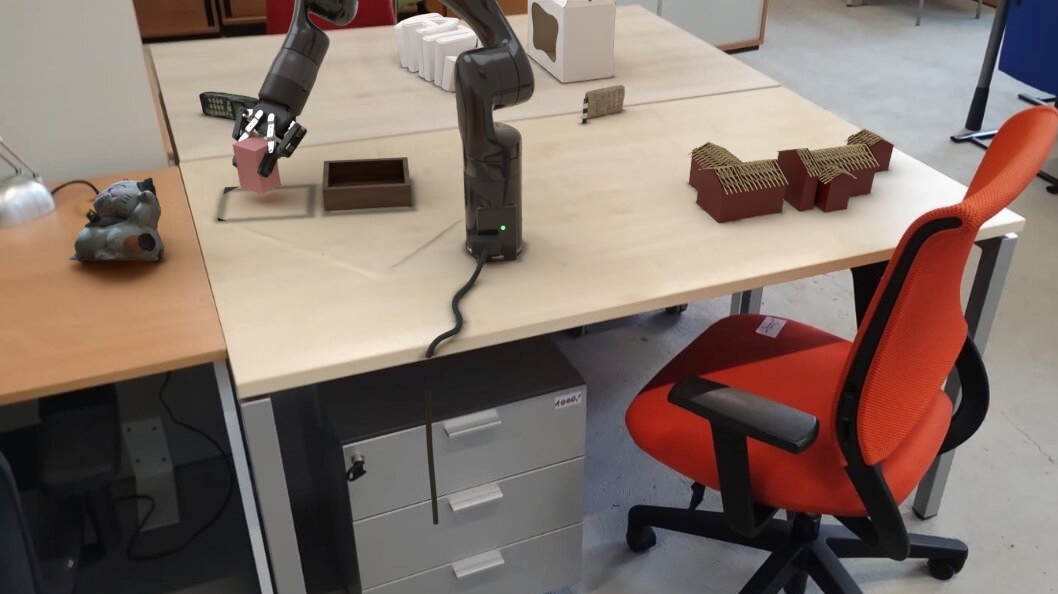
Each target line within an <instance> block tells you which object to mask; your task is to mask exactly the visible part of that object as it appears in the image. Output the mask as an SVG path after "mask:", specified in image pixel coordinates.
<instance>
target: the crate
mask: <svg viewBox="0 0 1058 594" xmlns="http://www.w3.org/2000/svg"><path fill="white" fill-rule="evenodd" d="M408 159H409V158H408V156H402V157H378V158H359V159H337V160H335V159H333V160H323V167H322V189H321V190H322V197H323V205H324V211H325V212H333V211H349V210H350V211H353V210H368V209H370V210H371V209H385V208H402V207H413V199H412V197H413V196H412V185H411V176H410V169H409V168H410V167H409V160H408Z"/></svg>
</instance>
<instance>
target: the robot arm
mask: <svg viewBox="0 0 1058 594" xmlns="http://www.w3.org/2000/svg"><path fill="white" fill-rule="evenodd" d="M438 2H440V3H441V4H443V5H444V6H445V7H446V8H448V9H449V10H450V11H451V12H452V13H454V14H455V15H456V16H458V18H460V19H461V20H462V21H464V22H465V23H466V24H467V26H469V28H470V29H471V30H473V31H474V32H475V34H476V35H477V37H478V38H479V40H480V42H481V43H482V45H483V47H480V48H475V49H470V50H466V51H463V52H461V53H460V54H459V55H458V57H457V59H456V62H455V66H454V86H455V92H454V93H455V103H456V104H455V105H456V115H457V125H458V132H459V135H460V140H461V146H462V147H461V148H462V149H461V150H462V168H463V169H462V174H463V196H464V222H465V223H464V224H465V249H466V251H467V252H468V254H470V255H471V256H472V257H474V258H477V261H478V262H477V263H478V264H477V266H476V268H475V270H474V272H473V274H472V275H471V277H470V278H469V280H468V281H467V282H466V284H465V285H464V286H463V287H461V288H460V289H459V290H458V291H457V292H456V293H455V295H454V296H453V299H452V300H451V308H452V312H453V314H454V317H455V319H456V324H455V326H454V327H453V328H452V329H450V330H447V331H445V332H442V333H441V334H439V335H438V336H436V337H435V338H434V339H433V340H432V341H431V342H430V344H429V346H428V347H427V349H426V352H425V356H424V358H425V359H430V358H432V356H433V354H434V351H435V349H436V347H437V346H438V345H439V344H440V343H442V342H443V341H445V340H447V339H449V338H452V337H454V336H455V335H457V334H458V333H459V332H460V331H461V330H462V327H463V324H464V319H463V315H462V312H461V311H460V309H459V301H460V299H461V298H462V296H463V295H464V294H466V293H467V292H468V291H469V290H470V289H471V288H472V287H473V285H474V284H475V282H476V281H477V279H478V278H479V276H480V274H481V271H482V270H483V268H484V266H485V263H486V262H491V261H492V262H493V261H505V260H507V261H508V260H517V258H518V255H519V254H520V253H521V252H522V251H523V248H524V240H523V138H522V135H521V132H520V131H519V130H518V129H517V128H515V127H514V126H512V125H509V124H507V123H504V122H498V121H494V114H493V112H494V111H499V110H504V109H506V108H512V107H516V106H520V105H522V104H525V103H527V102H529V101H530V100H531V99H532V97H533V95H534V94H535V89H536V81H535V74H534V71H533V67H532V64H531V61H530V58H529V55H528V53H526V50H525V47H523V45H522V42H521V41H520V39H519V37H518V36H517V34H516V32H515V31H514V29H513V27H512V25H511V24H510V22H509V20H508V18H507V17H506V15H505V13H504V12H503V10H502V7H501V6H500V5H499V2H498V1H497V0H438ZM358 9H359V0H294V6H293V13H292V18H291V22H290V25H289V28H288V31H287V33H286V35H285V37H284V39H283V42H282V44H281V46H280V48H279V50H278V52H277V53H276V55H275V57H274V59H273V60H272V63H271V64H270V67H269V69H268V71H267V74H266V75H265V78H264V80H263V82H262V85H261V87H260V89H259V91H258V93H257V96H258V99H259V102H258V104H257V105H256V106H255V107H254V108H253V109H245V108H244V107H242V106H241V107H239V109H238V113H237V117H236V119H235V121H234V125H233V129H232V133H231V138H232V139H233V140H234V141H236V143H237V142H239V141H241V140H243V139H245V138H250V137H253V136H256V137H259V138H262V139H265V138H266V140H268V148H267V152H268V154H267V153H265V155H264V157H263V159H262V161H261V164H260V166H259V168H258V170H257V173H258V174H259V175H261V176H263V177H265V178H268V176H269V175H270V174H271V173H272V171H273V169H274V167H275V165H276V162H277V163H278V160H280V159H281V158H286V159H290V158H291V157H292V155H293V154H294V152H295V151H296V150H297V148H298V147H299V145H300V143H301V142H302V140H303V139H304V138H305V136H306V135H307V133H308V129H307V128H306V127H305V126H304V125H302V124H301V123H299V122H297V117H300V116H301V115H302V113H303V110H304V109H305V106H306V104H307V102H308V99H309V97H310V95H311V93H312V90H313V88H314V86H315V84H316V81H317V77H318V74H319V71H320V68H321V66H322V63H323V61H324V59H325V57H326V55H327V52H328V50H329V48H330V44H331V39H330V37H329V36H328V35H327V34H326V32H325V31H323V30H322V29H321V28H320V27H318V26H317V25H316V24H315V23H313V21H312V20H311V19H310V16H309V15H310V14H313V15H315V16H316V17H318V18H321V19H323V20H325V21H326V22H329V23H331V24H333V25H335V26H338V27H345V26H347V25H348V24H350V23H352V22H353V21H354V19H355V17H356V15H357V14H358V13H357V12H358ZM231 164H232V166H233V167H235V168H236V169H237V165H236V160H235V155H233V157H232V161H231ZM424 405H425V407H424V409H425V410H424V411H425V414H424V415H425V437H426V438H425V439H426V440H425V441H426V453H427V454H426V455H427V466H428V476H429V477H428V478H429V489H430V497H431V498H430V499H431V511H432V513H431V514H432V524H433V525H434V526H436V525H438V524H439V509H438V508H439V507H438V506H439V505H438V494H437V484H436V483H437V482H436V471H435V460H434V446H433V426H432V425H433V421H432V389H425V390H424Z"/></svg>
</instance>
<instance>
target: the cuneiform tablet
mask: <svg viewBox="0 0 1058 594" xmlns="http://www.w3.org/2000/svg"><path fill="white" fill-rule="evenodd" d="M625 96H626V88H625V86H624V85H623V84H618V85H617V84H616V85H611V86H607V87H602V88H597V89H591V90H589V91H585V94H584V98H583V101H582V102H583V103H582V104H583V105H582V120H581V124H587V123H588V119H590V118H594V117H599V116H600V117H601V116H603V115H608V114H613V113H614V114H615V113H619V112H621V111H622V110H623V107H624V100H625Z"/></svg>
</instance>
